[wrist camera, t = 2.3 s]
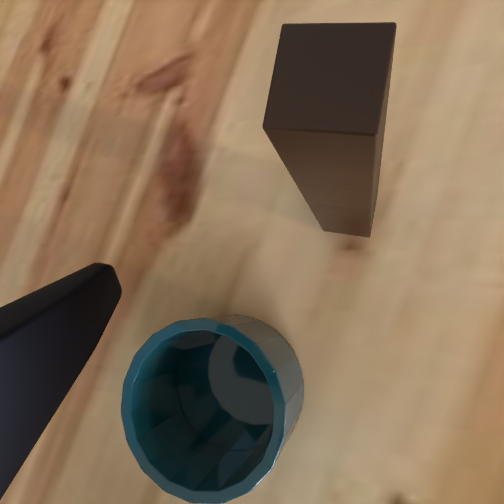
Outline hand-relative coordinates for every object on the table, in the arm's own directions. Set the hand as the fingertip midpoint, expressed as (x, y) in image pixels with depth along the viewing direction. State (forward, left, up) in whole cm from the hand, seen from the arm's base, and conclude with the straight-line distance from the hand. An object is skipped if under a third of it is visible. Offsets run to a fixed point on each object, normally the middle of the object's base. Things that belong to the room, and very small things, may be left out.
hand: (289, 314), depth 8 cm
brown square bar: (+5, -2, -12) cm, 13 cm away
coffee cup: (-4, +6, -12) cm, 14 cm away
